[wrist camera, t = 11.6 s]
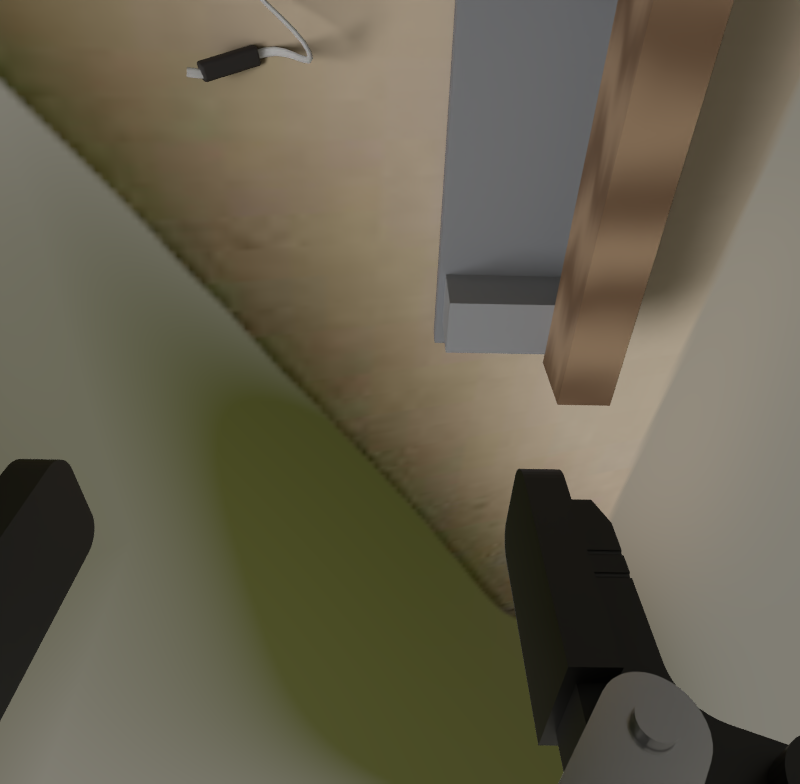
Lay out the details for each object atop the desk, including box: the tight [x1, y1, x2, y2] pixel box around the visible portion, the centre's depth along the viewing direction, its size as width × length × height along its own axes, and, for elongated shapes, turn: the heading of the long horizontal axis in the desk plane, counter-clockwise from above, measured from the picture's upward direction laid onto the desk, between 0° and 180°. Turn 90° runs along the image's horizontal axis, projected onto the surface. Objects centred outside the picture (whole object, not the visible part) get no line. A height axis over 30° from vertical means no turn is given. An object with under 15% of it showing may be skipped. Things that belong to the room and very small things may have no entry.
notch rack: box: [434, 0, 618, 354], centre depth 36 cm, size 30×13×9 cm, turn 179°
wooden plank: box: [543, 0, 734, 406], centre depth 32 cm, size 28×4×5 cm, turn 179°
